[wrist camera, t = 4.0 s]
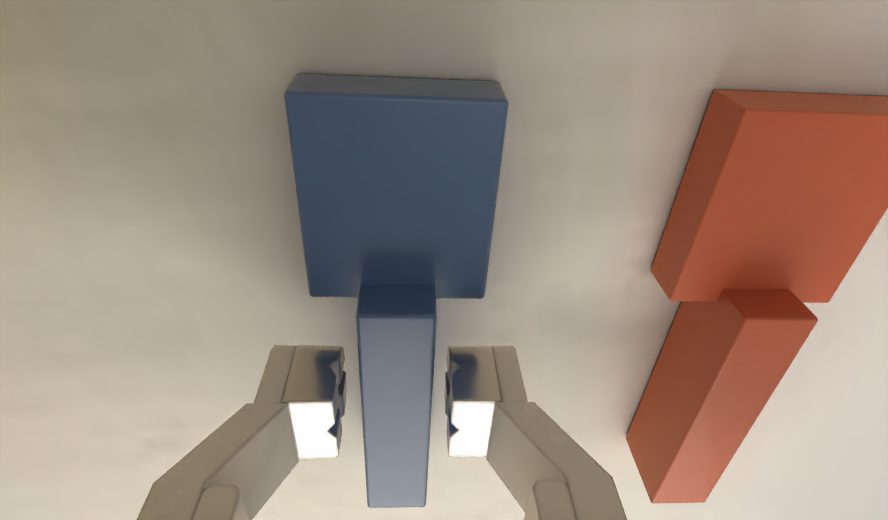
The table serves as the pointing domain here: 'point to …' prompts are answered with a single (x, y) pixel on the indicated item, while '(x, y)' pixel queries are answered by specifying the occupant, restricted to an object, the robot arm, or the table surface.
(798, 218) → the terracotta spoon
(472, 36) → the table surface
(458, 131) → the paddle
